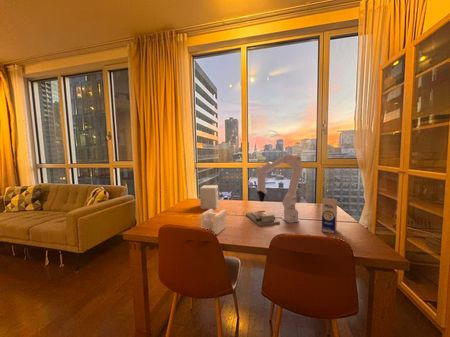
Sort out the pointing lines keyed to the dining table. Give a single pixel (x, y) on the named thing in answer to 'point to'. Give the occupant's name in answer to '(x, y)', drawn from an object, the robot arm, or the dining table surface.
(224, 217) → the cable organizer
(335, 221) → the milk carton
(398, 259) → the dining table surface
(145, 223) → the dining table surface
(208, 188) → the supplement box
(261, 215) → the cutter blade
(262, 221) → the cutter base
